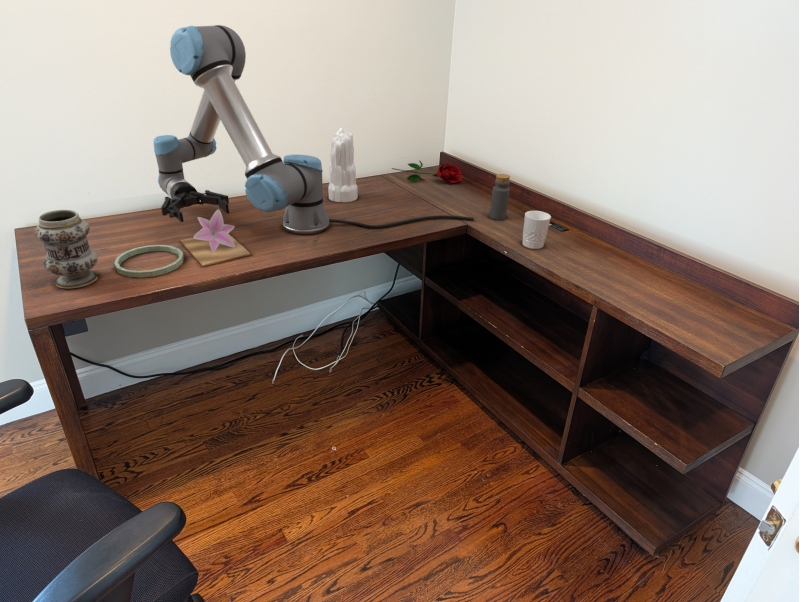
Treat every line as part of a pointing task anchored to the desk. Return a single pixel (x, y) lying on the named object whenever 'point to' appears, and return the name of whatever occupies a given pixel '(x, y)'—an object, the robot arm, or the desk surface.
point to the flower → (438, 173)
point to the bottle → (500, 197)
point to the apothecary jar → (67, 248)
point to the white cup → (535, 229)
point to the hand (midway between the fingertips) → (205, 213)
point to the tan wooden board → (221, 254)
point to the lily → (215, 231)
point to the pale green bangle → (148, 272)
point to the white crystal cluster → (342, 168)
